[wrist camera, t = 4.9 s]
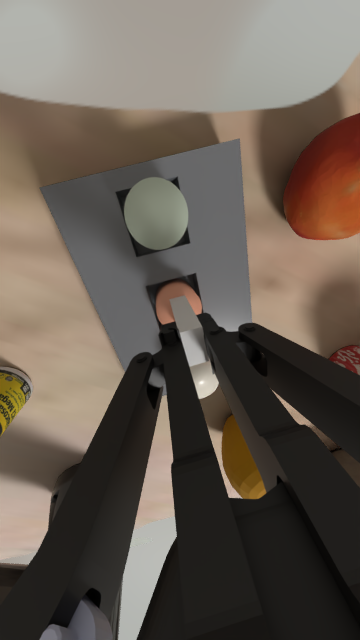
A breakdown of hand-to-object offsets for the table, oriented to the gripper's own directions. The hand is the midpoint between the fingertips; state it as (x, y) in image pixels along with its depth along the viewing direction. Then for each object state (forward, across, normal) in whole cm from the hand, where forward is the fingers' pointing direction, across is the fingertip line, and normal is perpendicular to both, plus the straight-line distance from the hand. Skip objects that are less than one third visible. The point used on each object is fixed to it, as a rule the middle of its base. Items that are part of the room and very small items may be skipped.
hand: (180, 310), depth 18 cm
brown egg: (+4, 0, 0) cm, 4 cm away
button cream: (+2, 0, -8) cm, 8 cm away
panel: (+6, 0, 0) cm, 6 cm away
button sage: (+3, 0, +8) cm, 8 cm away
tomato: (+6, +17, +7) cm, 19 cm away
